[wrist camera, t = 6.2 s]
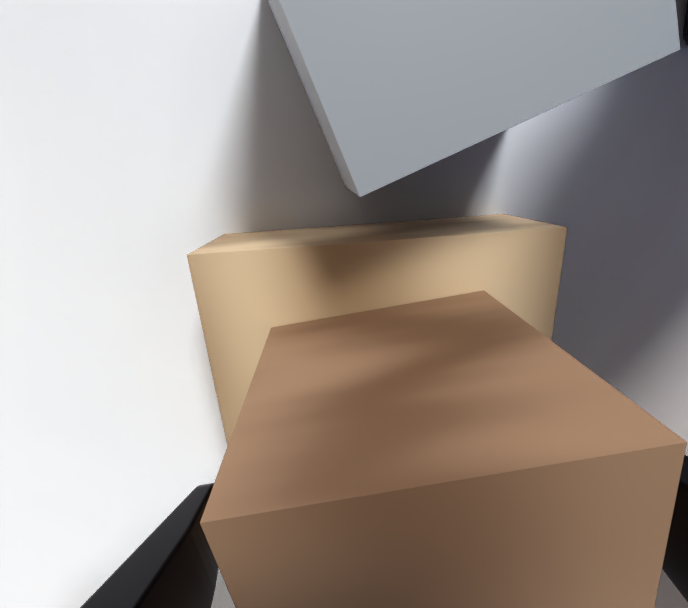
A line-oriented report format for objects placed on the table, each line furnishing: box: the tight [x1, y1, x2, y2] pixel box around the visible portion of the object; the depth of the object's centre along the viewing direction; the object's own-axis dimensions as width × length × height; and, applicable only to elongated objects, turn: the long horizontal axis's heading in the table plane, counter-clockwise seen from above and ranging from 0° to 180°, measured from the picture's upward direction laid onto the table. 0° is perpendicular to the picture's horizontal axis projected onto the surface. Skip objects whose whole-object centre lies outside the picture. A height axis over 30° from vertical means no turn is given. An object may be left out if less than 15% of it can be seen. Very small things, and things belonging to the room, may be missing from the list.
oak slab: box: [187, 214, 567, 445], centre depth 13 cm, size 10×10×4 cm
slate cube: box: [268, 0, 680, 197], centre depth 8 cm, size 6×6×6 cm
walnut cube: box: [200, 290, 687, 608], centre depth 8 cm, size 6×6×6 cm
